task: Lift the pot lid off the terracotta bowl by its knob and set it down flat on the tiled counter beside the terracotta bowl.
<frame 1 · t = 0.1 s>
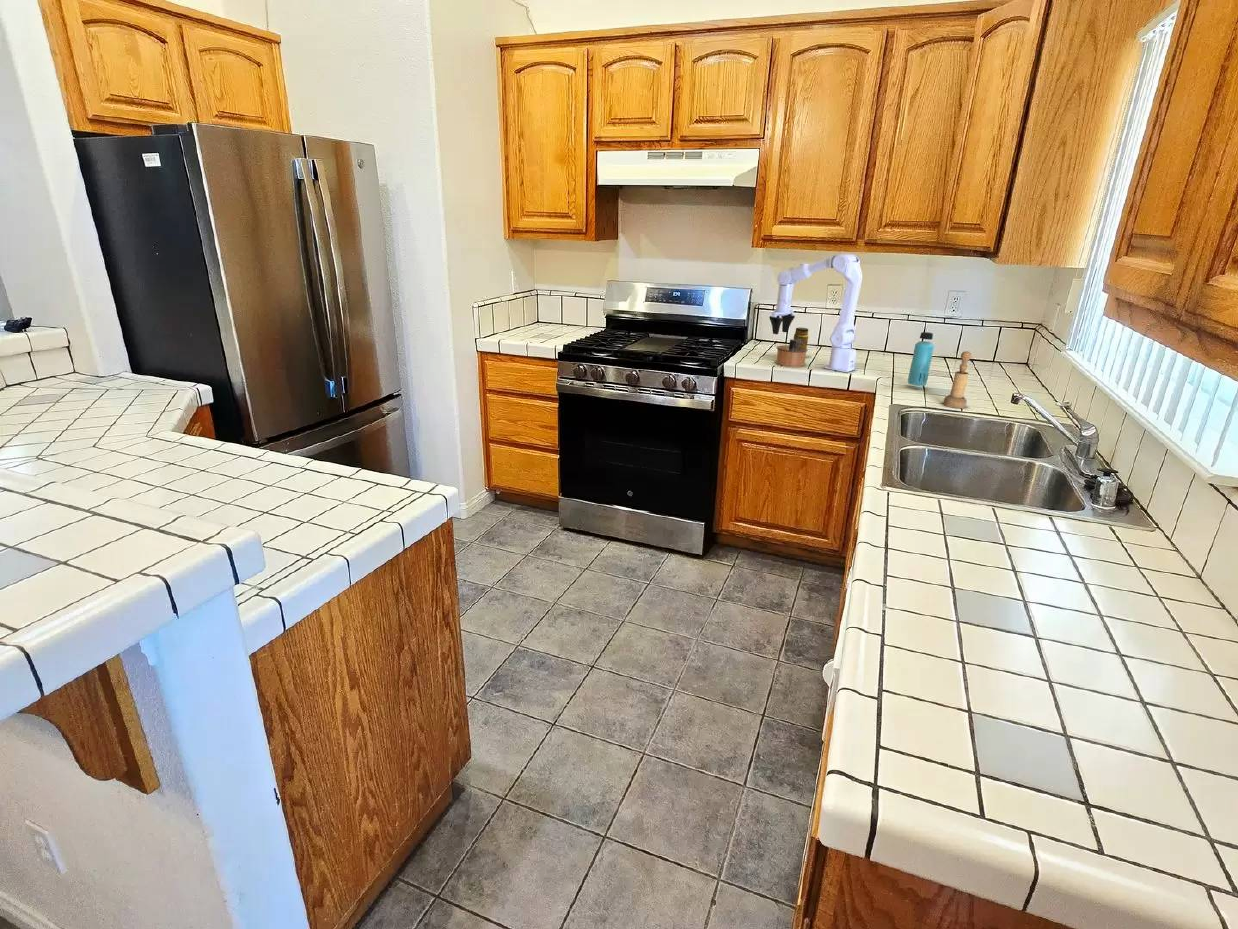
hand: (780, 333, 274), 10 cm above the countertop, tool pointing down, fingers open, 7 cm apart
terracotta bowl: (790, 363, 266), on the countertop
mortar and pestle: (954, 405, 215), on the countertop
pot lid: (792, 349, 264), point 6 cm above the countertop, touching terracotta bowl
condiment: (796, 356, 280), on the countertop
beverage bottle: (915, 388, 236), on the countertop
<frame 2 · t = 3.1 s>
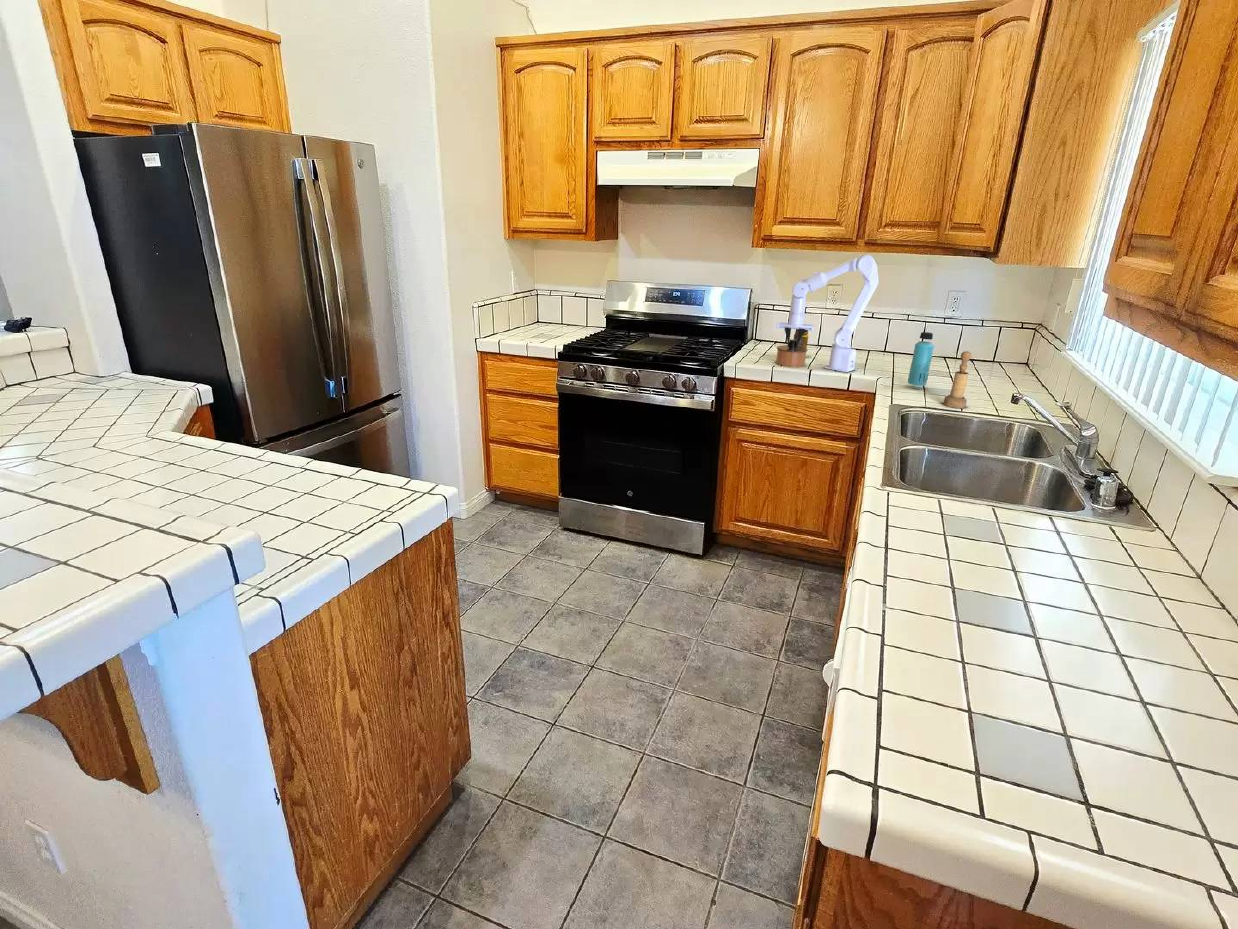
hand: (792, 346, 263), 7 cm above the countertop, tool pointing down, fingers closed on pot lid, 2 cm apart
pot lid: (792, 349, 264), point 6 cm above the countertop, touching gripper, terracotta bowl
everything else where it was.
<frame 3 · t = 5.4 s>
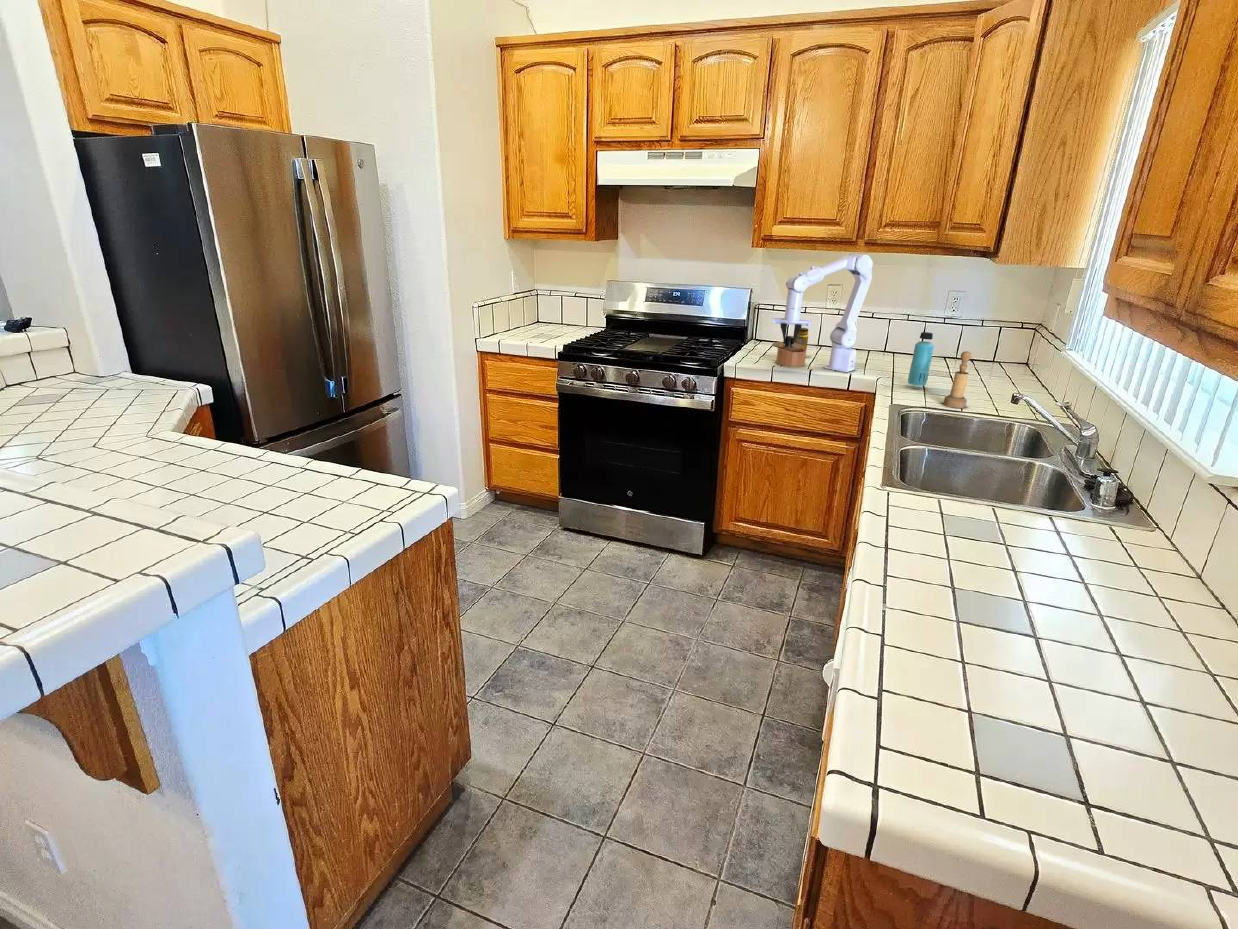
hand: (788, 343, 252), 10 cm above the countertop, tool pointing down, fingers closed on pot lid, 2 cm apart
pot lid: (788, 346, 252), point 9 cm above the countertop, touching gripper
everything else where it was.
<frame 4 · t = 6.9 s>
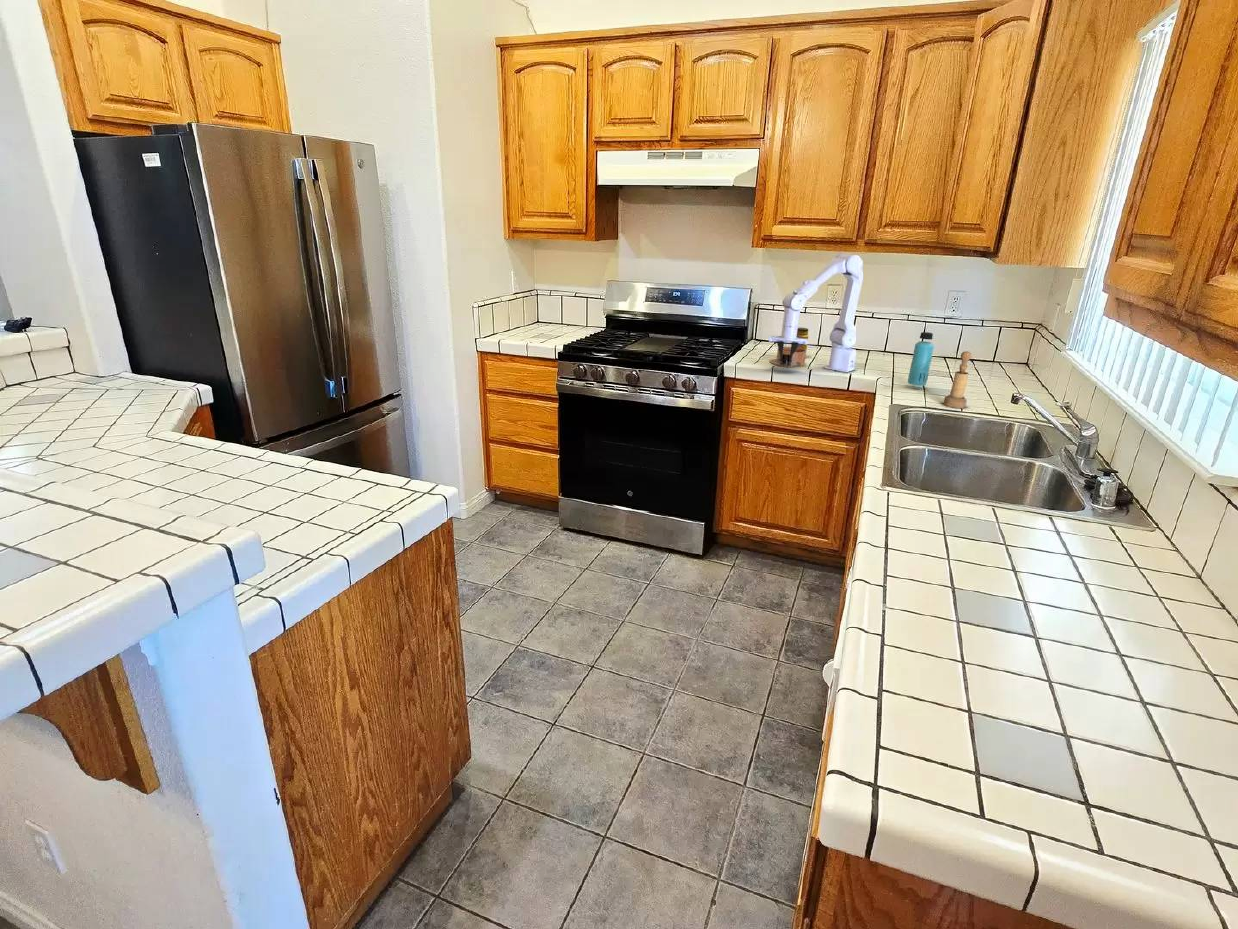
hand: (785, 361, 252), 4 cm above the countertop, tool pointing down, fingers closed on pot lid, 2 cm apart
pot lid: (785, 363, 253), point 3 cm above the countertop, touching gripper
everything else where it was.
when the fingers open (2 cm above the countertop, at t = 7.8 s): pot lid stays where it is, point 1 cm above the countertop.
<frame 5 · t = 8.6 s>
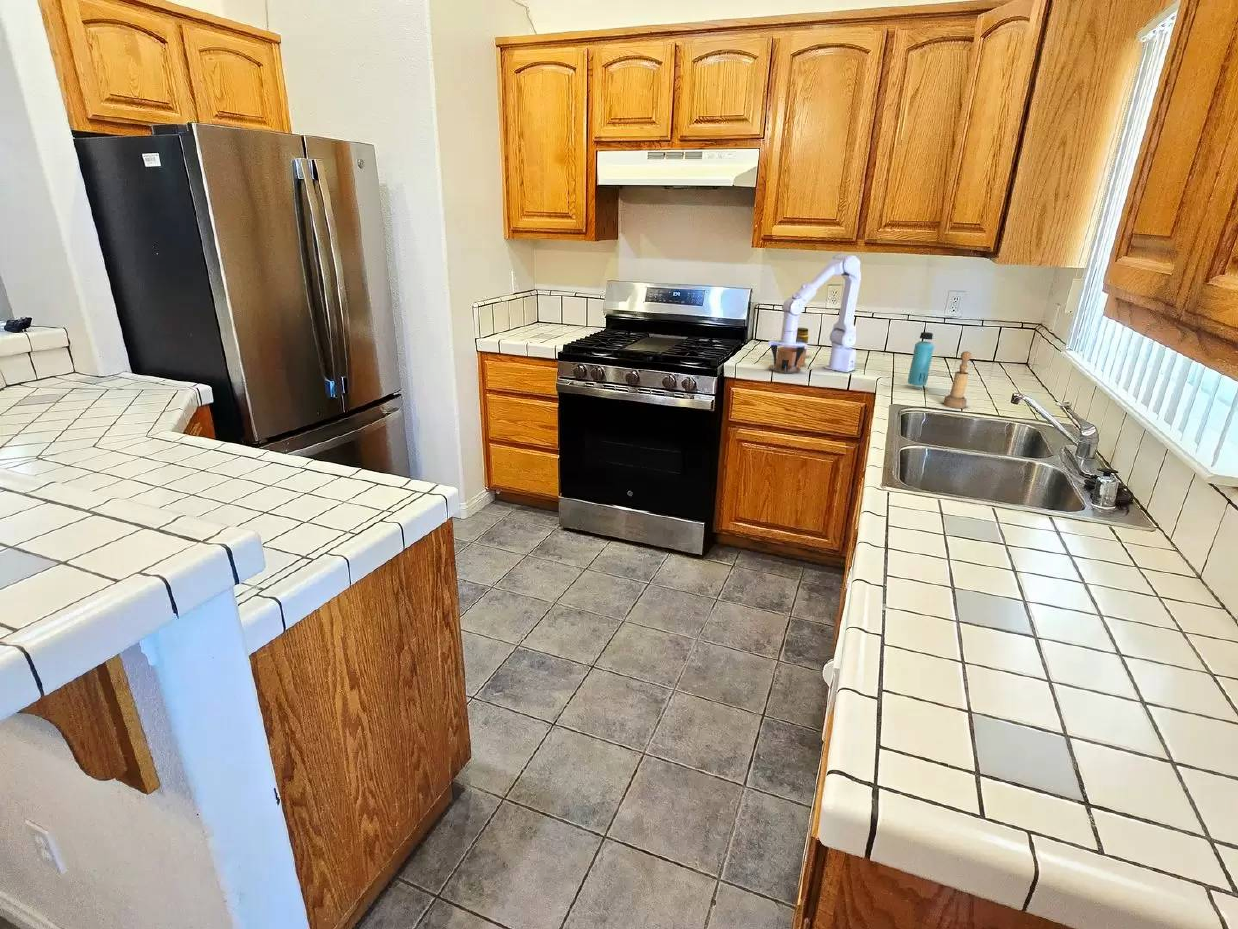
hand: (784, 365, 253), 2 cm above the countertop, tool pointing down, fingers open, 7 cm apart
pot lid: (784, 368, 254), point 1 cm above the countertop
everything else where it was.
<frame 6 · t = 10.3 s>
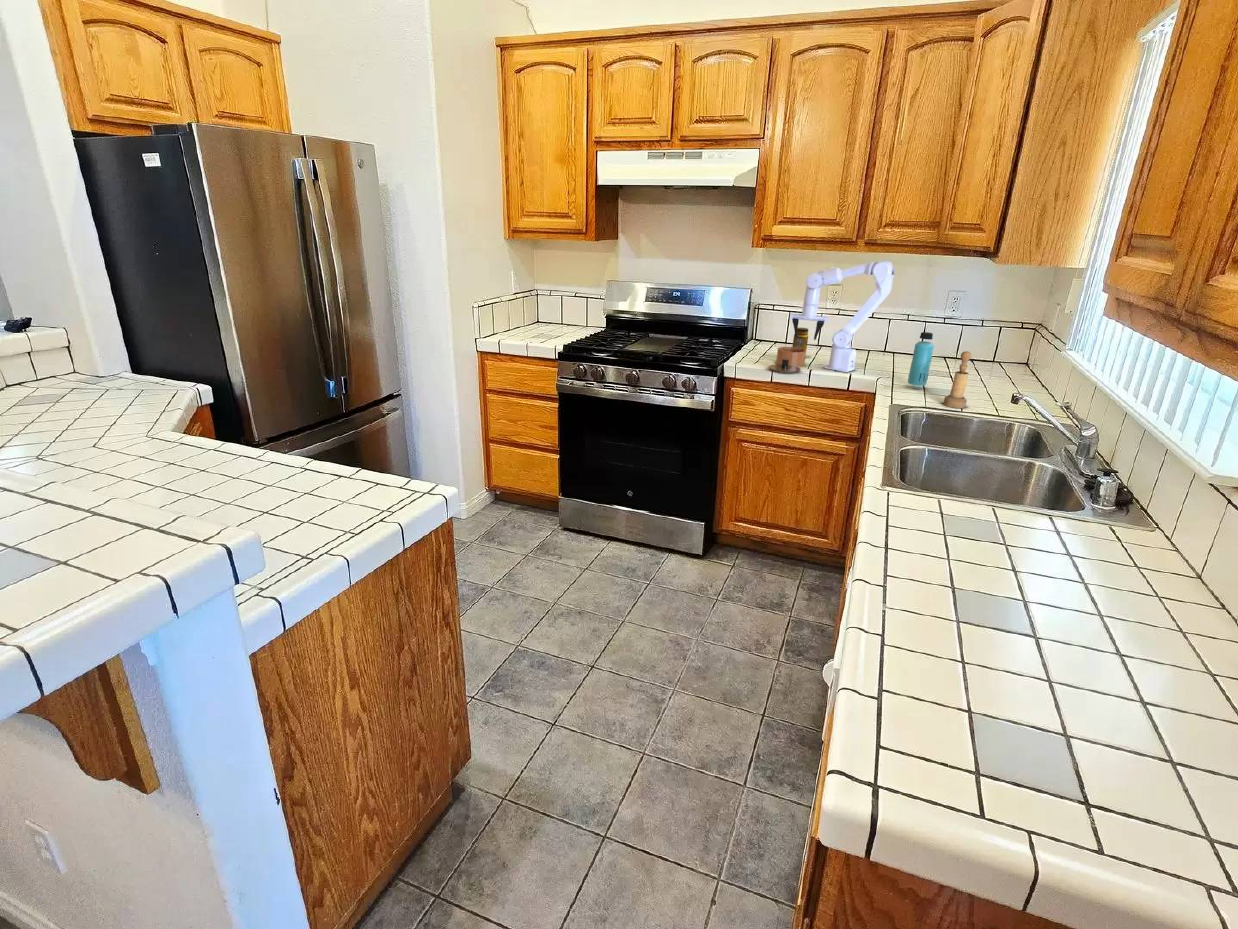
hand: (805, 338, 263), 10 cm above the countertop, tool pointing down, fingers open, 7 cm apart
nothing on the countertop moved.
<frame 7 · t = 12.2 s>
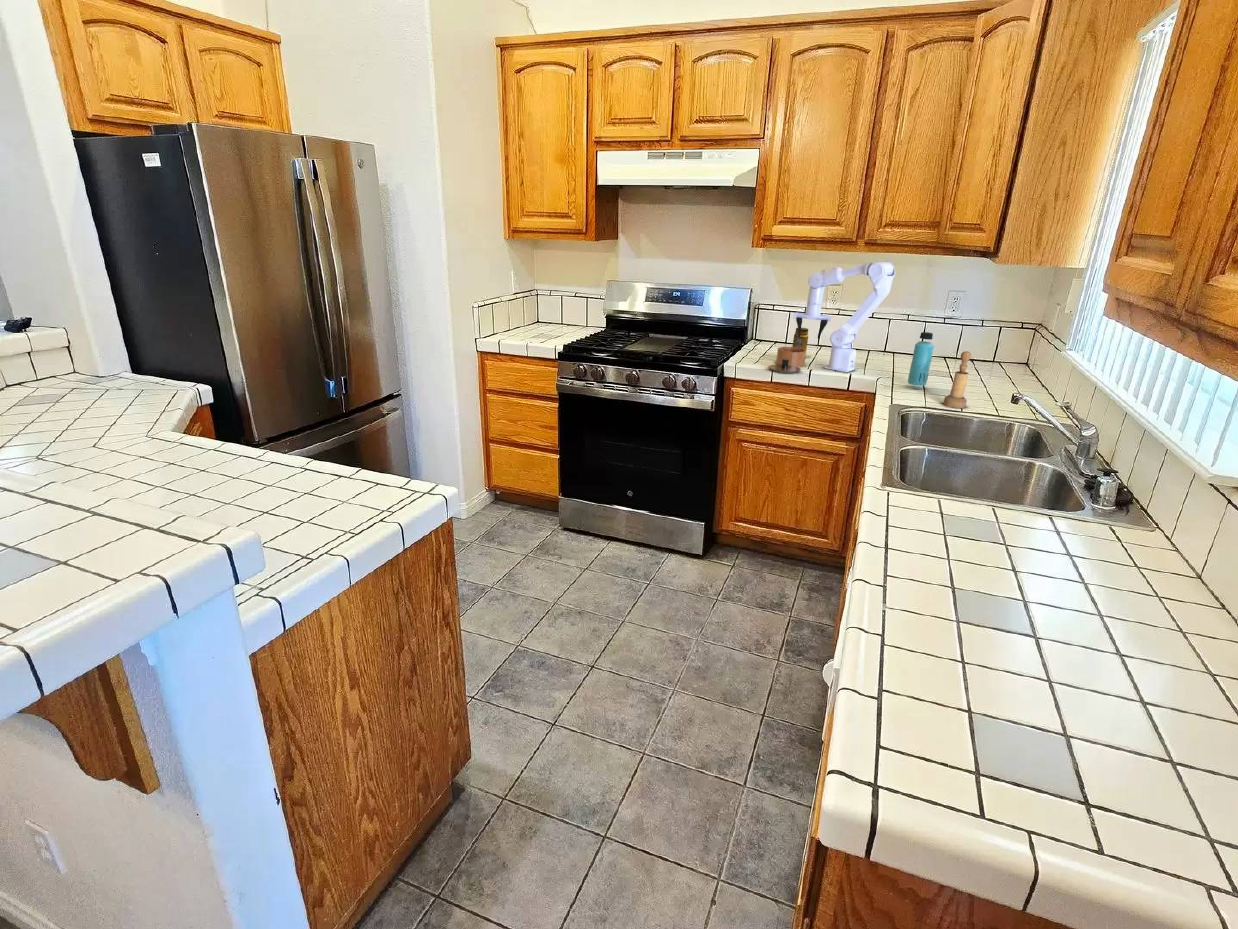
hand: (808, 337, 266), 10 cm above the countertop, tool pointing down, fingers open, 7 cm apart
nothing on the countertop moved.
at the end: pot lid inside the target area (0.0 cm from its centre), point 0.6 cm above the countertop; pot lid tilted 0°; the gripper is holding nothing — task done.
